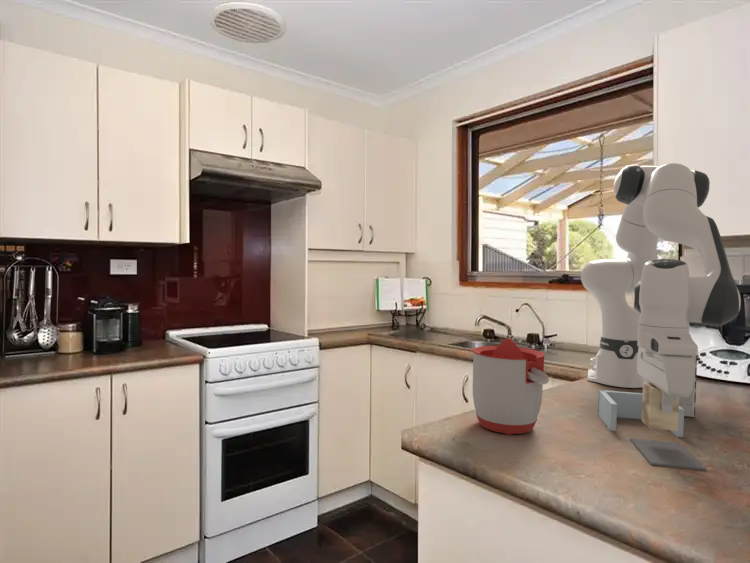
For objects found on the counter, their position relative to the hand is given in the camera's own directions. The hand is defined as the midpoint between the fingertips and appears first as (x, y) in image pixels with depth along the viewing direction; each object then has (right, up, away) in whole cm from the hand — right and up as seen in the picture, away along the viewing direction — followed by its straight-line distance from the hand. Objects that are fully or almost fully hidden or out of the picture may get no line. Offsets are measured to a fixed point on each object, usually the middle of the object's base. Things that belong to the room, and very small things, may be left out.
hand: (660, 408), depth 95 cm
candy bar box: (+19, -8, +25) cm, 33 cm away
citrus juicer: (-28, -7, +10) cm, 30 cm away
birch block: (0, -4, 0) cm, 4 cm away
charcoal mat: (-1, -8, -4) cm, 9 cm away
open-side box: (+3, -8, +14) cm, 16 cm away
